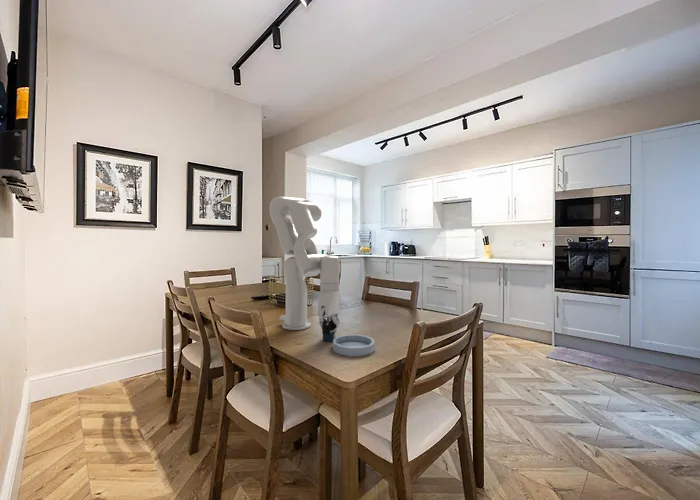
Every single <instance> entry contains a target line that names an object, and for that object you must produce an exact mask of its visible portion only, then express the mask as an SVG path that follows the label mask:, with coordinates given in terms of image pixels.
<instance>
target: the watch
mask: <svg viewBox="0 0 700 500" xmlns="http://www.w3.org/2000/svg"><path fill="white" fill-rule="evenodd" d="M331 318H332V320H333V322H334V323H335V324H336V326H337V327H336V328H335V329H334V330H330V335H328V334H325V333H323V334H322V342H323V343H333V339H335V338H336V333H337V330H338V327H339V325H340V323H341V321H340V319H339V317H338V316H337V315H336V314H333V315H332V316H331ZM318 320H319V319H318ZM318 323H319V326H320V328H321V329H322V322H321V321H320V320H319V321H318Z"/></svg>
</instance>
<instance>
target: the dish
mask: <svg viewBox="0 0 700 500" xmlns="http://www.w3.org/2000/svg"><path fill="white" fill-rule="evenodd" d="M375 350H376V341H375V339H374V338H373V337H370V336H367V335H363V334H343V335H340V336H337V337H336V336H335V339H333V342H332V351H333V352H335V353H336V354H338V355H342V356H345V357H362V356H363V357H364V356H366V355H370V354H372V353H374V352H375Z"/></svg>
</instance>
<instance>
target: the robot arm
mask: <svg viewBox="0 0 700 500" xmlns="http://www.w3.org/2000/svg"><path fill="white" fill-rule="evenodd" d="M269 216H270V218H271V222H272V223H273V225H274V227H275V229H276V233H277V237H278V241H279V244H280V248H281V251H282V253H283V254H284V255H286V256H291V257H288V258H286V259H285V260H284V262H283V273H284V281H285V314H282V315H280V316H279V318H278V319H279V321H283V323H282V325H281V326H282V329H284V330H287V331H288V330H289V331H302V330H306V329H309V328H310V327H311V322H310V321H308V285H307V284H306V282H305V280H304V278H309V277H315V276H318V275H319V283H320V284H319V288H320V289H319V293H318V294H319V295H318V303H317V315H318V320H320V321H321V322H322V328H321V330H322V333H321V334H322V335H323V333H325V334H328V335H330V330H334V329H335V328H336V327H337V326H336V324H335V323H334V322H333V320H332V318H331V316H332V315H333V314H336V315H337V317H338V315H339V313H340V303H341V302H340V257H339V256H338V255H328V254H325V253H319V252H318V248H317V245H316V242H315V240H314V239H313V238H315V236H316V235H317V234H318V230H317V226H316V224H315V222H318V221H319V220H320V219H321V218H322V208H321V207H320V205H319V204H318V203H316V202H315V201H310V200H308V199H306V198H301V197H292V196H291V197H290V196H277V197H274V198H272V199H271V201H270V203H269ZM287 216H290V218H291V219H290V218H289V217H287Z"/></svg>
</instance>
